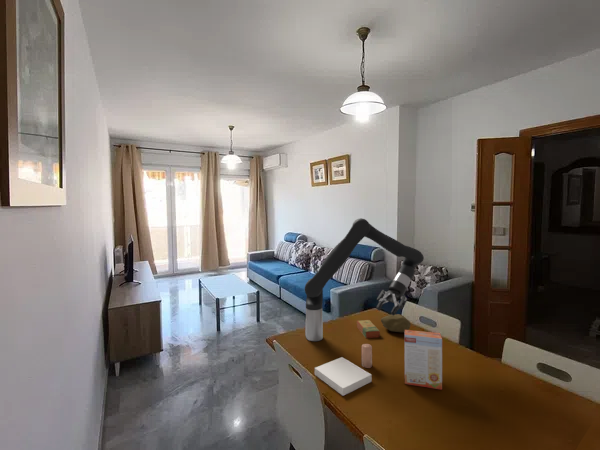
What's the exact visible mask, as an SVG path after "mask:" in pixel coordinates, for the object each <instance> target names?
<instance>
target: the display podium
mask: <svg viewBox="0 0 600 450" xmlns="http://www.w3.org/2000/svg"><path fill="white" fill-rule="evenodd" d="M314 375H315V377H317V378H318V379H320V380H321V381H322V382H323V383H325V384H327V385H328V386H329V387H330V388H332V389H333V390H335V391H336V393H338V394H340V395H341V396H345V395H348V394H351V393H352V392H354V391H356V390H358V389H360V388H362V387H364V386H365V385H367V384H370V383H372V379H373V378H372V376H373V375H372V374H371V373H369V372H368V371H367V370H364V369H363V368H362V367H359V366H358V365H356V364H355V363H353V362H351V361H350V360H348V359H346V358H344V357H343V356H341V357H339V358H336V359H334V360H331V361H329V362H326V363H323V364H321V365H319V366H315V367H314Z"/></svg>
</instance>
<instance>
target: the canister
mask: <svg viewBox="0 0 600 450" xmlns="http://www.w3.org/2000/svg"><path fill="white" fill-rule="evenodd" d="M361 366H362V367H363V368H364V369H370V368H372V366H373V346H372V345H371V344H369V343H363V344H362V345H361Z"/></svg>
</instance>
